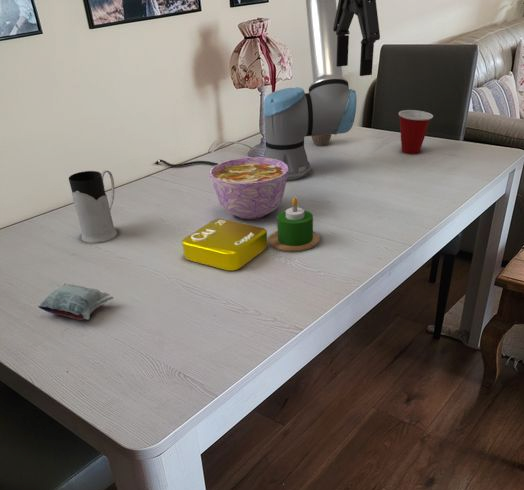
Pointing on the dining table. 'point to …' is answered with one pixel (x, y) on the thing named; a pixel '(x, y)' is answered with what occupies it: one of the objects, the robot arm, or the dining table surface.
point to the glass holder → (93, 206)
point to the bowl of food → (250, 185)
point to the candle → (295, 226)
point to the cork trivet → (277, 245)
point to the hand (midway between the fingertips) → (353, 70)
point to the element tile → (225, 244)
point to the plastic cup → (413, 129)
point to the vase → (321, 140)
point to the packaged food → (74, 301)
